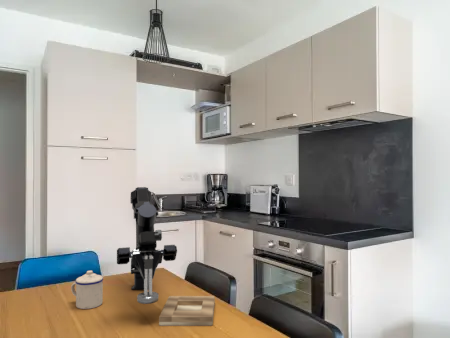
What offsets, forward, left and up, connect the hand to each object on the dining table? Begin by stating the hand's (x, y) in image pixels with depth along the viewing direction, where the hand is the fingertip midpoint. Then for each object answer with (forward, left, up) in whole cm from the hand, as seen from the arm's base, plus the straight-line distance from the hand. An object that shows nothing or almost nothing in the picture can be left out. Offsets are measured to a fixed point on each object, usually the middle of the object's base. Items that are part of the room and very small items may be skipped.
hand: (148, 278), depth 105 cm
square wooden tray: (-7, +12, -13) cm, 19 cm away
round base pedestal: (-1, 0, -7) cm, 7 cm away
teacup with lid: (-15, -25, -14) cm, 32 cm away
